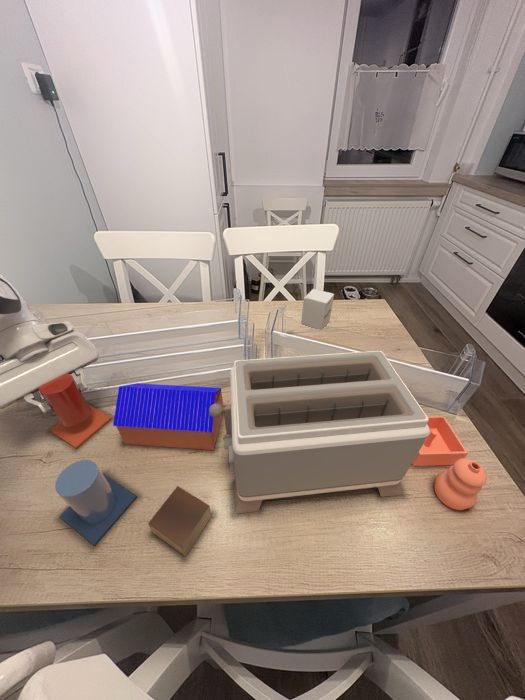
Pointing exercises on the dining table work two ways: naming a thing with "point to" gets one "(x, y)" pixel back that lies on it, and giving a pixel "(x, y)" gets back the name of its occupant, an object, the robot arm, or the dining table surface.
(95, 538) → the blue mat
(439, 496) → the pottery
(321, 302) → the white packaging box
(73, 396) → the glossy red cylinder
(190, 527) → the riser
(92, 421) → the red mat
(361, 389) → the toaster
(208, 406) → the house
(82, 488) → the blue canister
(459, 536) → the dining table surface
